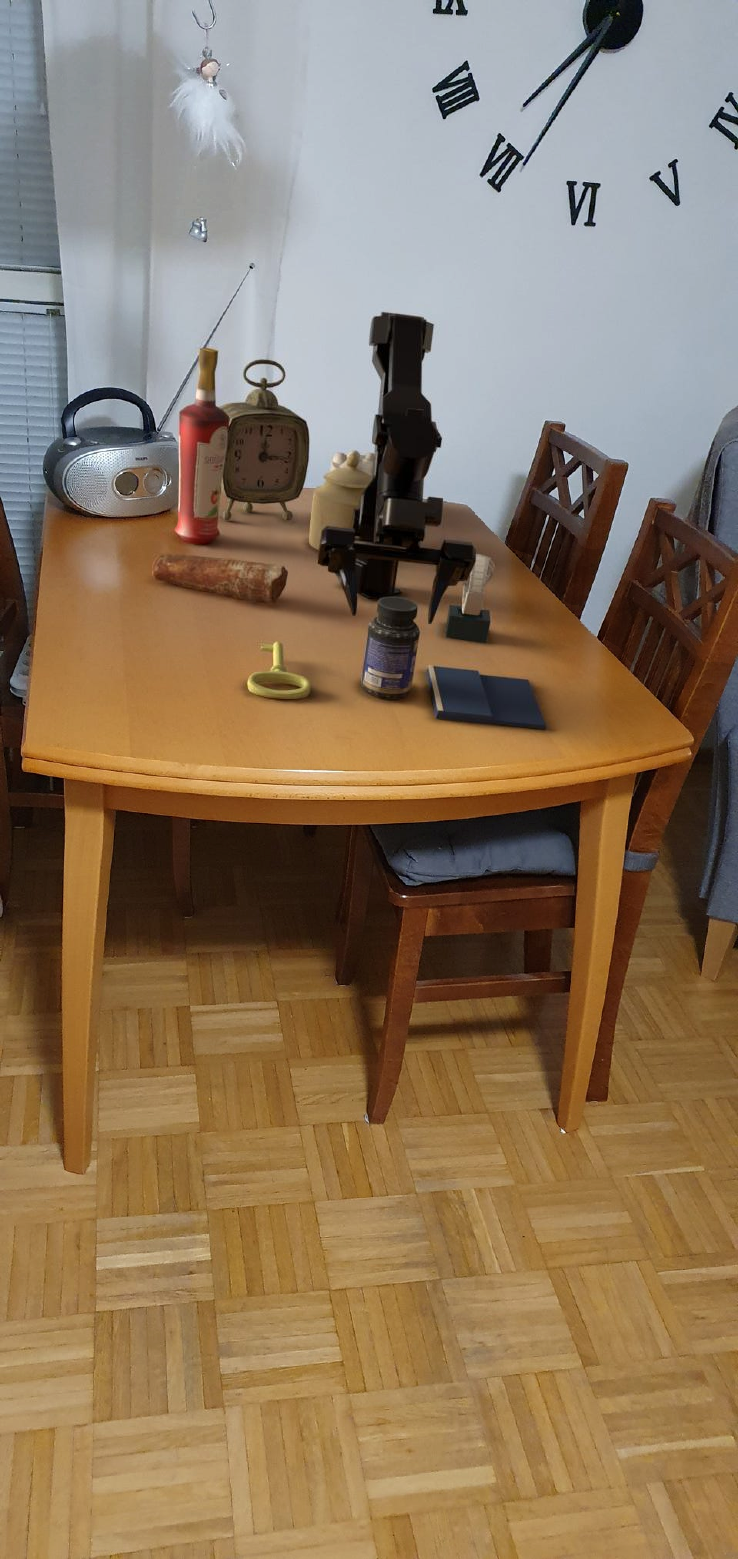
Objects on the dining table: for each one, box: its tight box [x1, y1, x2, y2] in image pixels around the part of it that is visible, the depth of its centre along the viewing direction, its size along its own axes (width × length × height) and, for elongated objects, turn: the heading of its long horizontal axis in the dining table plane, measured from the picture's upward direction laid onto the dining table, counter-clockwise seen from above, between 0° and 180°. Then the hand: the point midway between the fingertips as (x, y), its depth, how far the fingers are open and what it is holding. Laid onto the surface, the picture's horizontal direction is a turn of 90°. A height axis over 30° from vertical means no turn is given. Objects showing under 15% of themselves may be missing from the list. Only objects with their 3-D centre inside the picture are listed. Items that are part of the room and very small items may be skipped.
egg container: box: [329, 449, 374, 477], centre depth 209 cm, size 10×13×9 cm
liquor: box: [174, 347, 230, 545], centre depth 177 cm, size 7×7×28 cm
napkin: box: [425, 664, 547, 730], centre depth 144 cm, size 13×13×1 cm
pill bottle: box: [360, 596, 421, 700], centre depth 141 cm, size 6×6×11 cm
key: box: [247, 641, 311, 700], centre depth 141 cm, size 7×12×2 cm, turn 23°
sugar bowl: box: [308, 452, 372, 551], centre depth 186 cm, size 15×11×15 cm
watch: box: [445, 553, 496, 644], centre depth 160 cm, size 6×8×11 cm
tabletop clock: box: [218, 359, 310, 522], centre depth 192 cm, size 14×9×25 cm, turn 114°
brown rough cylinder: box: [151, 553, 289, 605], centre depth 164 cm, size 6×19×6 cm, turn 75°
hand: (392, 618), depth 142 cm, fingers open, 9 cm apart
